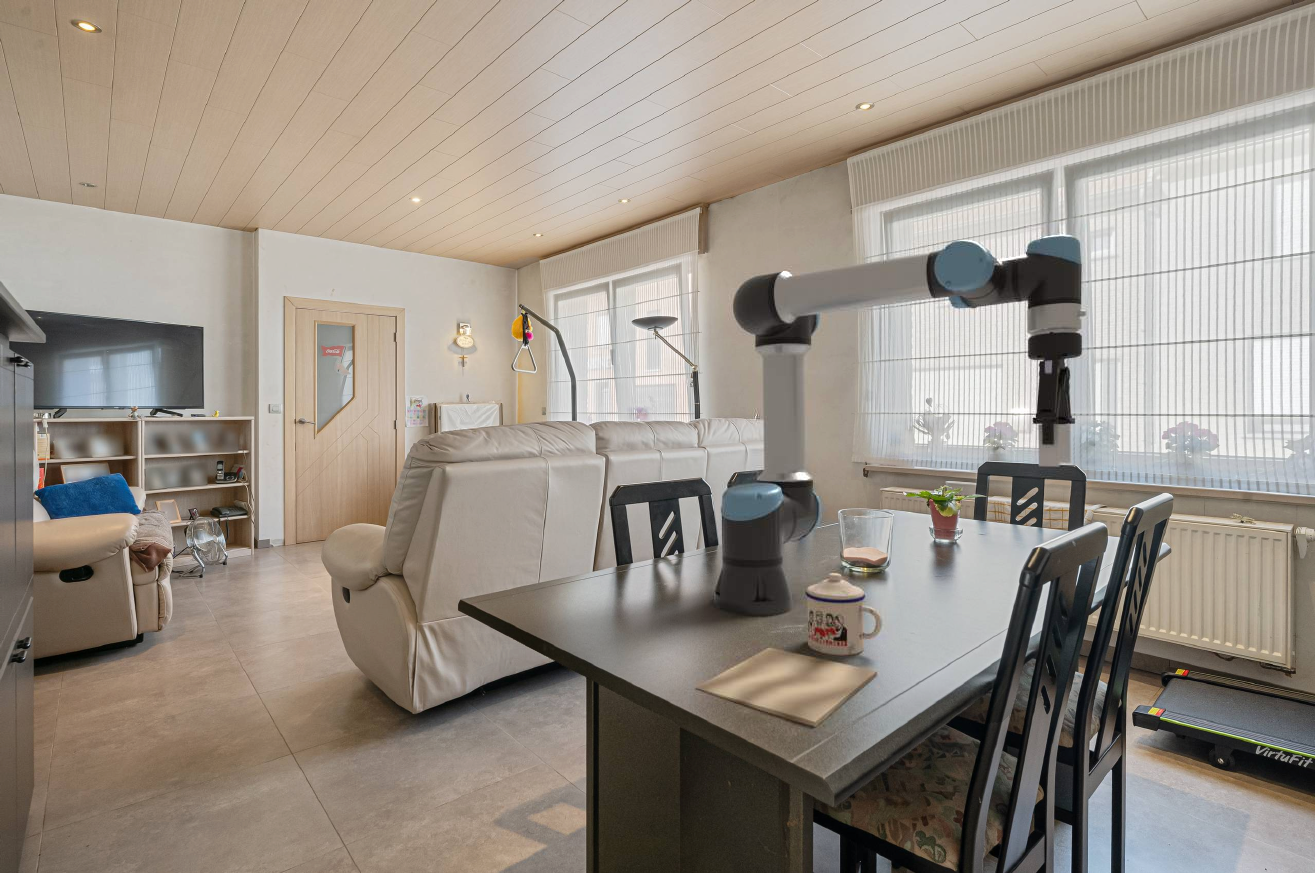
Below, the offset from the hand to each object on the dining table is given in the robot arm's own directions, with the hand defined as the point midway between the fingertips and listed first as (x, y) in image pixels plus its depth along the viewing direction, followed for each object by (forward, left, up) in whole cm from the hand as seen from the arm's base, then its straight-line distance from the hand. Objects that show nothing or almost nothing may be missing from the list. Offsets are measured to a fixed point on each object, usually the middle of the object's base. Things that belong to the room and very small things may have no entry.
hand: (1055, 464), depth 106 cm
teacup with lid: (-26, -25, -29) cm, 46 cm away
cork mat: (-26, -43, -28) cm, 58 cm away
